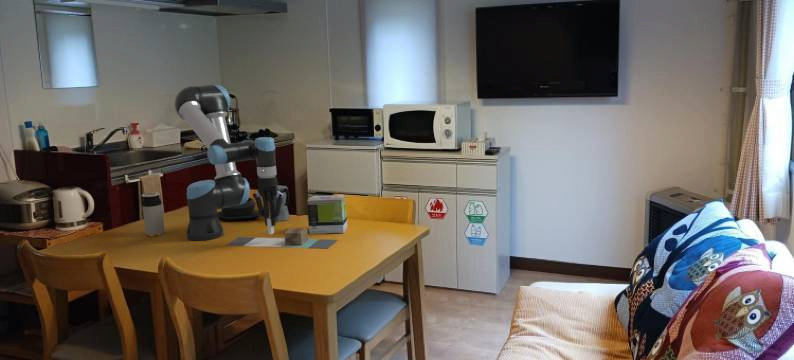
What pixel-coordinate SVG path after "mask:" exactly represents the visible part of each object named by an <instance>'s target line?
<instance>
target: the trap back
mask: <svg viewBox="0 0 794 360" xmlns="http://www.w3.org/2000/svg"><path fill="white" fill-rule="evenodd" d="M255 238H256V237H247V236H246V237H244V236H243V237H241V236H239V237H237V238H234V239H233V240H232V241H229V242H228V243H226V244H225V246H234V247H235V246H236V247H238V246H239V247H240V246H241V247H244V246H243V245H245V244H247V243H248V242H250V241H251V240H253V239H255Z"/></svg>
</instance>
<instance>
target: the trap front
mask: <svg viewBox="0 0 794 360" xmlns="http://www.w3.org/2000/svg"><path fill="white" fill-rule="evenodd" d="M318 239H319V240H318V241H316V242H315V243H314V244H313V245H311V246H310V247H309V248H308V249H320V250H321V249H323V250H327V249H330V247H332V246H334V244H336V242H338V241H339V240H338V239H328V238H327V239H324V238H321V239H320V238H318Z"/></svg>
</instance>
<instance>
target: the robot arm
mask: <svg viewBox="0 0 794 360" xmlns="http://www.w3.org/2000/svg"><path fill="white" fill-rule="evenodd" d="M174 109H175V112H176V114H177V115H178V116H179V118H180V119H181V120H183V121H185V122H187V124H188V125H189V126H190V127H191V129H192V130H193V131H194V133H195V134H196V136H197V137H198V138H199V139H200V140H201V142H202V143H203V144H204V146H205V147H206V149H207V151H206V153H207V159H208V161H209V163H210V164H211V165H214V167H215V173H216V176H215V177H214V179H205V180H199V181H196V182H193V183H190V184H189V185H188V186H187V188H186V199H187V207H188V208H187V209H188V218H189V221H188V225H187V226H188V227H187V230H186V239H187V238H188V240H190V241H208V240H213V239H217V238H221V237H223V236H224V228H223V225H222V223H221V221H220V219H219V218H220V217H218V213H217V212H218V210H221V209H223V208H228V207H233V206H238V205H242V204H244V203H246V202H247V200H248V198H250V194H251V193H250V192H251V191H250V190H251V189H250V183H249V181H248V180H247V178H245V177H242V174H241V173H242V172H241V173H240V172H239V171H238V169H237V165H236V163H237V162H245V161H250V160H251V161H253V160H254V161H256V172H257V173H256V174H257V186H258V189H257V191H256V192H255V193H252V197H253V199H254V201H255V203H256V207H257V209H258V210H257V211H259V214H260V216H259V217H262V218H264V225H265V226H266V227H267V235H273V234H275V226H276V225H277V224H276V223H277V222H275V217H277V216H279V215H280V209H281V203H282V198H283V196H284V193H281V192H279V190H278V188H277V182H278V176H277V161H276V145H275V139H274V138H273V137H271V136H269V137H268V136H265V137H257V138H255V140H253V139H245V140H243V141H241V142H240V141H239V142H233V143H232V142H231V140H230V135H229V134H230V133H229V128H228V125H227V121H226V116H227V115H228V110H229V109H231V97H230V95H229V92H228V91H227V89H226V87H224V86H222V85H218V84H217V85H216V84H210V85H207V84H206V85H199V86H198V85H197V86H196V85H195V86H187V87H184V88H182V89H181V90H179V92H178V93H177V95H176V97H175V99H174ZM276 195H277V197H278V198H277V202H276V208H275V196H276Z"/></svg>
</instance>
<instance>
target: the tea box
mask: <svg viewBox="0 0 794 360" xmlns="http://www.w3.org/2000/svg"><path fill="white" fill-rule="evenodd" d="M346 202H347V201H346V195H345V194H337V195H312V196H311V197H309V198H308V199H307V200H306V208H307V209H306V210H307V221H308V232H309V233H308V234H309V235H310V234H344V233H345V231H346V230H347V229H348V218H347V217H348V216H347V204H346Z"/></svg>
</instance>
